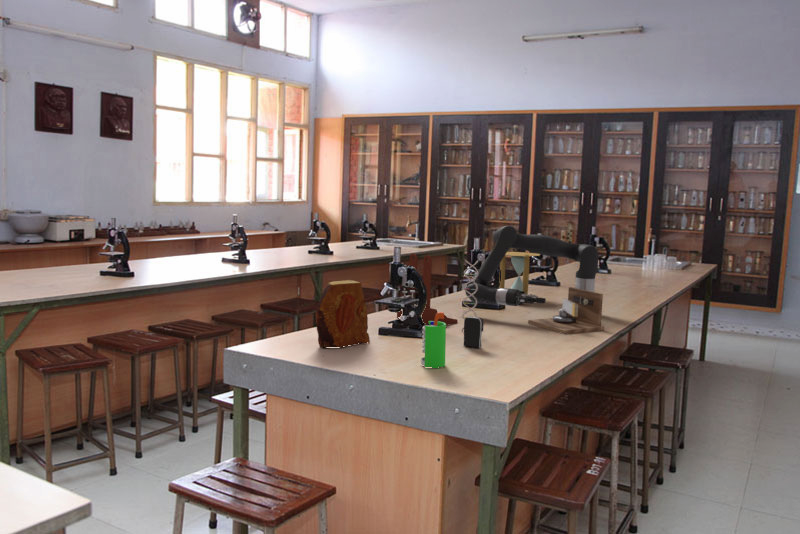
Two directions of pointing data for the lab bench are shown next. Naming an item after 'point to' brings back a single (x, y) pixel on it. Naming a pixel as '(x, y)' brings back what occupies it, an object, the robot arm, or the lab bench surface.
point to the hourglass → (518, 269)
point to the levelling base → (586, 316)
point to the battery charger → (473, 331)
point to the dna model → (471, 289)
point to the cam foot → (567, 308)
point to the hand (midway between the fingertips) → (545, 300)
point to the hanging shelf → (428, 291)
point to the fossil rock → (342, 315)
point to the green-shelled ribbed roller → (434, 343)
